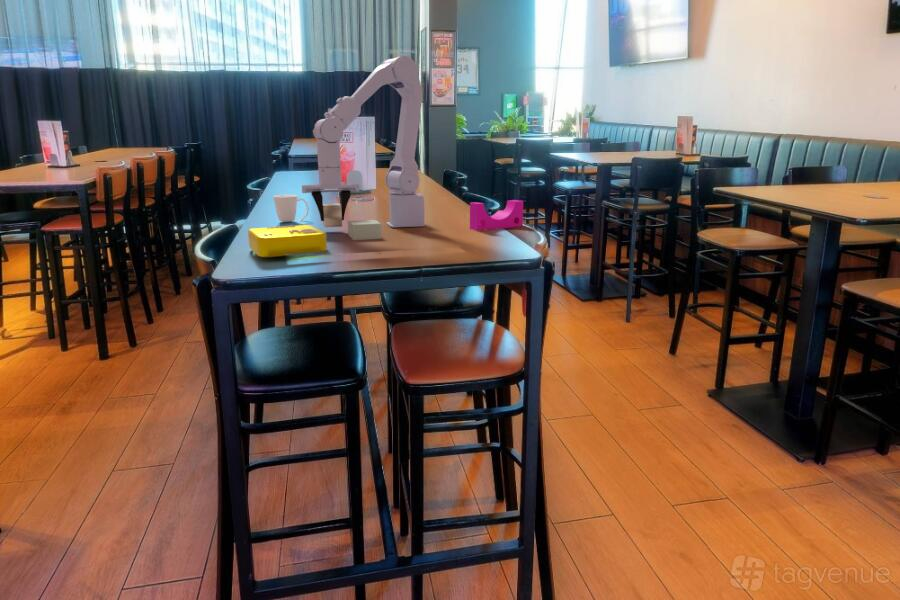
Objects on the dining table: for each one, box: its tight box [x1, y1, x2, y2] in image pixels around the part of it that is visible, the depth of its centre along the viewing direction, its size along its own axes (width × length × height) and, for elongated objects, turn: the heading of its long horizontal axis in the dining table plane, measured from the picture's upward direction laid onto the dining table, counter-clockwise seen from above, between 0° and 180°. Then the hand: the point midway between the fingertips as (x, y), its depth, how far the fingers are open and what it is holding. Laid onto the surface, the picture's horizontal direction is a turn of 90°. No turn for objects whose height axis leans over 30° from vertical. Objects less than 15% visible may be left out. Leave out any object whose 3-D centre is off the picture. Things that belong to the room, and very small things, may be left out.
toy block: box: [469, 199, 524, 232], centre depth 169 cm, size 15×6×8 cm, turn 120°
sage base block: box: [347, 219, 383, 241], centre depth 153 cm, size 7×7×4 cm
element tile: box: [247, 224, 328, 258], centre depth 138 cm, size 15×15×5 cm
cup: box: [273, 194, 310, 223], centre depth 175 cm, size 7×10×8 cm
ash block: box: [322, 203, 343, 228], centre depth 160 cm, size 4×4×6 cm
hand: (332, 220), depth 160 cm, fingers closed on ash block, 4 cm apart
